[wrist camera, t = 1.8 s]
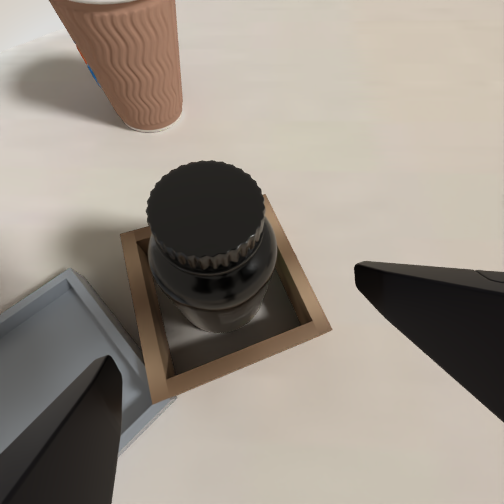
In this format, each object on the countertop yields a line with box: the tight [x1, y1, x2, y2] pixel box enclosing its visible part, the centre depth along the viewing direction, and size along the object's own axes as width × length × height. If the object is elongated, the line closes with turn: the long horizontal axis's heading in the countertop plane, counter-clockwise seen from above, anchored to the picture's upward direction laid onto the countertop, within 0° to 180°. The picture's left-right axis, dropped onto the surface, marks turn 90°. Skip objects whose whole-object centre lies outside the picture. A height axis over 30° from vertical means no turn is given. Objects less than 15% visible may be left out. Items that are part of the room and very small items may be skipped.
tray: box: [0, 268, 177, 457], centre depth 16 cm, size 12×12×2 cm
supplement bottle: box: [146, 160, 277, 333], centre depth 16 cm, size 7×7×12 cm
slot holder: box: [120, 194, 332, 405], centre depth 20 cm, size 12×12×3 cm
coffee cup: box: [49, 0, 183, 132], centre depth 24 cm, size 10×10×12 cm
